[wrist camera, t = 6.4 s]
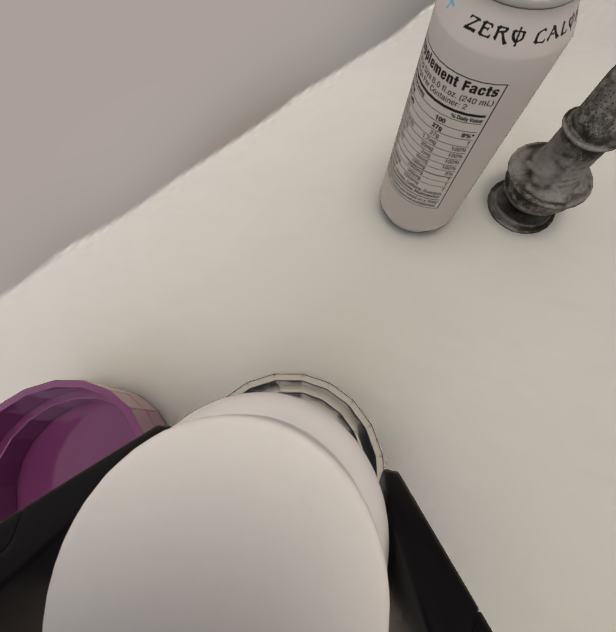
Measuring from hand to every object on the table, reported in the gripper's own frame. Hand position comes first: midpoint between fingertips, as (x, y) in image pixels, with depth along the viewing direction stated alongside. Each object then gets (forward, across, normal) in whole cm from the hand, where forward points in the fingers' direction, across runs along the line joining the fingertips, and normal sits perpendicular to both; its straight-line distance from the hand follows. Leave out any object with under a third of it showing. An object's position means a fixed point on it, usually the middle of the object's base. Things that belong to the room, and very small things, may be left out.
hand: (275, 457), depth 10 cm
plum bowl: (+6, +12, +12) cm, 18 cm away
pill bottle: (+4, 0, +6) cm, 7 cm away
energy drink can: (+23, -6, -5) cm, 24 cm away
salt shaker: (+24, -15, -6) cm, 29 cm away
